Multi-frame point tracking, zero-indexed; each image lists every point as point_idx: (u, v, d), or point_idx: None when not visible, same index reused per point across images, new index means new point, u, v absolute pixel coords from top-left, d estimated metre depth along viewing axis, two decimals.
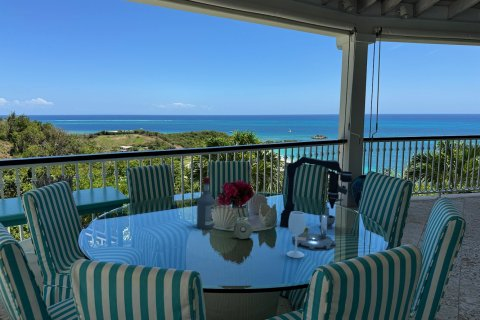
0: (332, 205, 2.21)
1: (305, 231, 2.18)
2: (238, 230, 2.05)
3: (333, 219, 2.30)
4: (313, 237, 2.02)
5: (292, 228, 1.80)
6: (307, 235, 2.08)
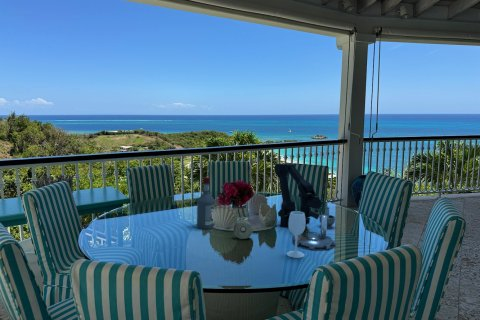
0: None
1: (305, 231, 2.18)
2: (238, 230, 2.05)
3: (333, 219, 2.30)
4: (313, 237, 2.02)
5: (292, 228, 1.80)
6: (307, 235, 2.08)
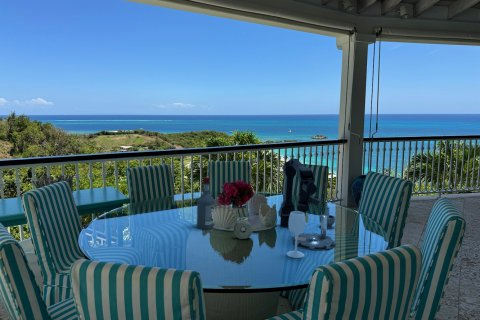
0: None
1: (305, 219, 2.03)
2: (238, 230, 2.05)
3: (333, 219, 2.30)
4: (313, 237, 2.02)
5: (292, 228, 1.80)
6: (307, 235, 2.08)
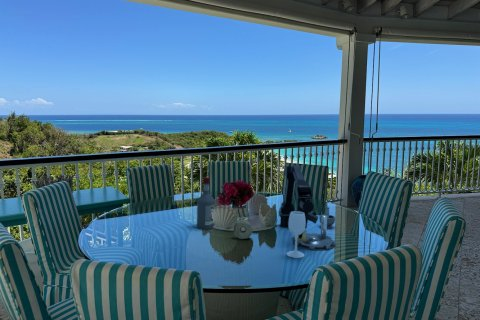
0: (300, 235, 1.97)
1: (302, 236, 1.99)
2: (238, 230, 2.05)
3: (333, 219, 2.30)
4: (313, 237, 2.02)
5: (292, 228, 1.80)
6: (307, 235, 2.08)
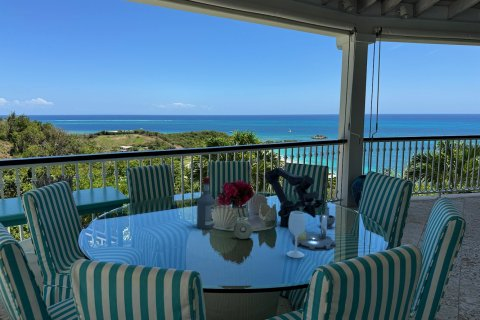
0: (311, 214, 2.12)
1: (302, 236, 1.99)
2: (238, 230, 2.05)
3: (333, 219, 2.30)
4: (313, 237, 2.02)
5: (292, 228, 1.80)
6: (307, 235, 2.08)
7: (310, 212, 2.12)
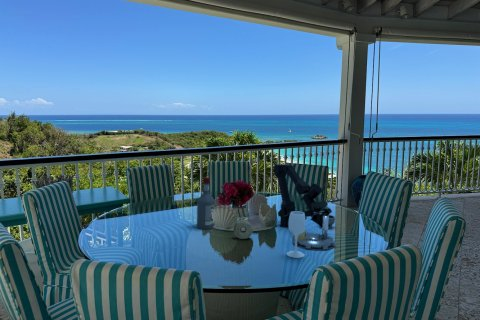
0: (320, 224, 2.06)
1: (301, 236, 2.00)
2: (238, 230, 2.05)
3: (333, 219, 2.30)
4: (313, 237, 2.02)
5: (292, 228, 1.80)
6: (309, 235, 2.09)
7: (318, 222, 2.07)
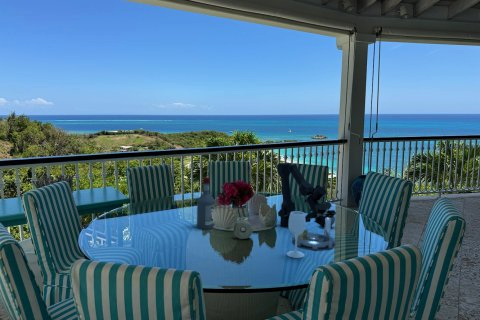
0: (324, 226, 2.03)
1: (300, 234, 2.04)
2: (238, 230, 2.05)
3: (333, 219, 2.30)
4: (313, 237, 2.02)
5: (292, 228, 1.80)
6: (314, 235, 2.08)
7: (322, 224, 2.04)
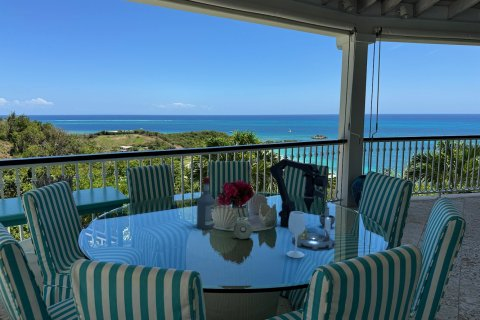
0: (308, 207, 2.21)
1: (300, 234, 2.04)
2: (238, 230, 2.05)
3: (333, 219, 2.30)
4: (313, 237, 2.02)
5: (292, 228, 1.80)
6: (314, 235, 2.08)
7: (309, 206, 2.21)
